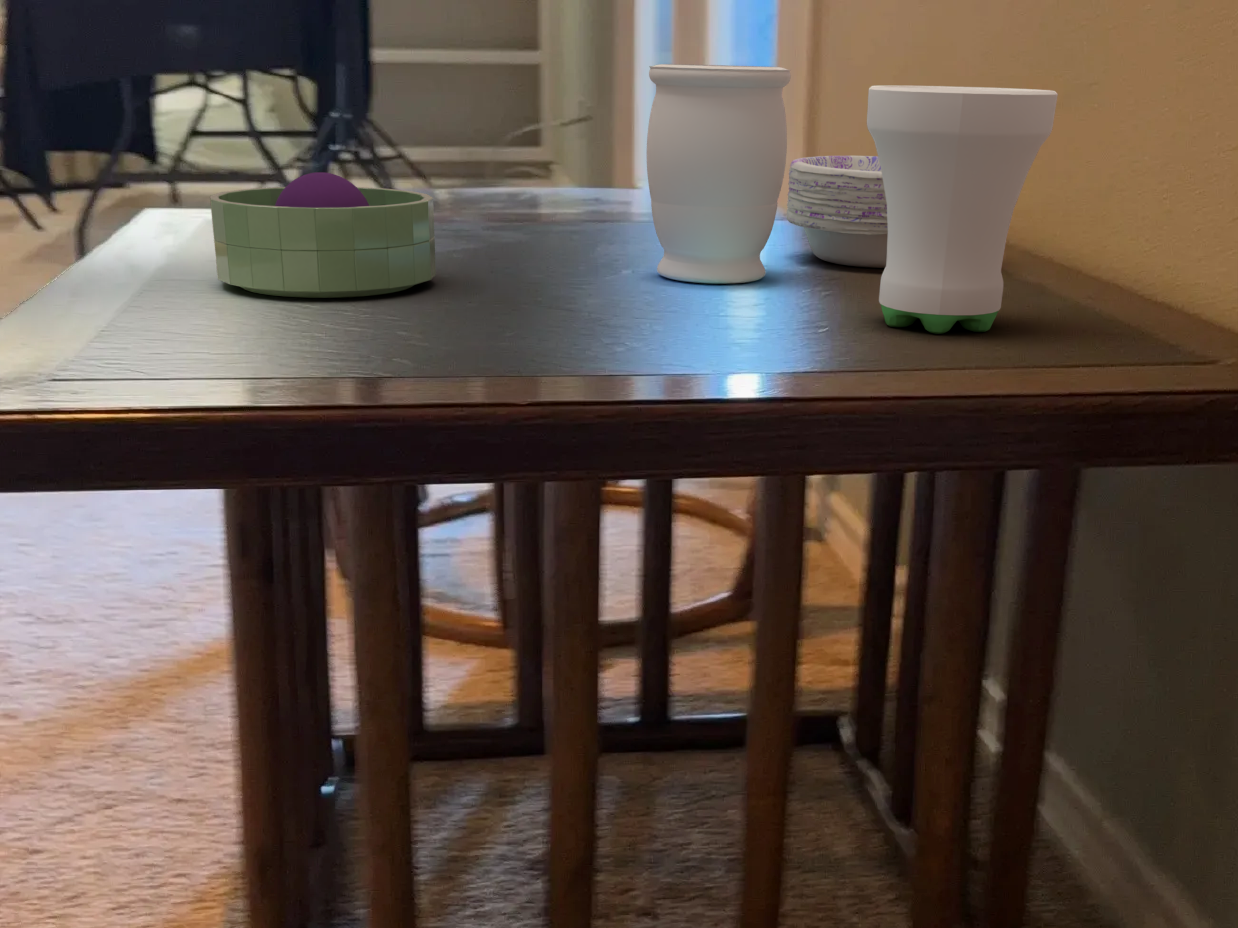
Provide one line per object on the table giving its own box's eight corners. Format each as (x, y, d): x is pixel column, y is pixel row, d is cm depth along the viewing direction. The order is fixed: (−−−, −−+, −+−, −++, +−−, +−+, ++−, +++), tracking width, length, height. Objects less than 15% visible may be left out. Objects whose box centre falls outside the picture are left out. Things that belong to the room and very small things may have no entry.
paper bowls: (932, 280, 107) (943, 172, 104) (754, 262, 114) (759, 161, 110) (989, 258, 119) (1000, 161, 116) (825, 244, 126) (832, 152, 123)
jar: (625, 268, 109) (629, 62, 103) (746, 265, 112) (757, 65, 106) (670, 289, 100) (677, 65, 94) (801, 285, 103) (815, 68, 97)
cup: (1022, 314, 93) (1051, 88, 88) (1031, 345, 83) (1065, 92, 78) (854, 305, 95) (873, 84, 90) (843, 334, 85) (864, 86, 80)
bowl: (173, 291, 95) (163, 199, 92) (293, 263, 108) (287, 182, 106) (370, 308, 90) (364, 212, 88) (469, 276, 104) (467, 192, 101)
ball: (257, 278, 97) (248, 174, 94) (310, 265, 103) (302, 166, 100) (345, 285, 95) (338, 178, 92) (394, 270, 101) (388, 170, 98)
